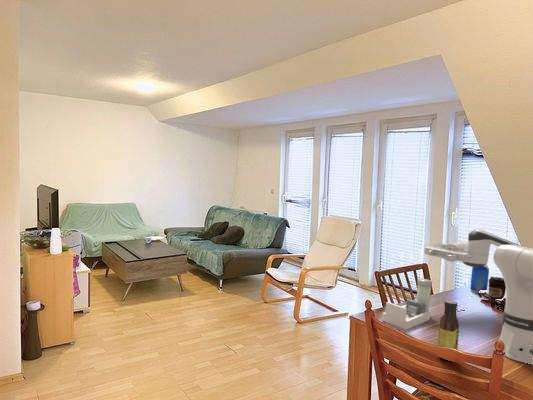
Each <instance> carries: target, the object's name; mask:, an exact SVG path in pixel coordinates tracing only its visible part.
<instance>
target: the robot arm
mask: <svg viewBox="0 0 533 400" xmlns="http://www.w3.org/2000/svg"><path fill="white" fill-rule="evenodd" d="M467 240H468V242H463V241H458V242H453V243H435V244H431V245H426V246H425V247H424V255H428V256H432V257H436V258H440V259H443V260H445V261H447V262H451V263H452V262H453V263H454V262H462V263H463V265H466V266H468V267H471V268H472V267H483V266H485V265H488V261H489V255H490V250H491V249H490V248H491V245H494V246H496V247H497V248H496V249H495V250H494V253H493V258H492V259H493V262H494V263H493V264H495V266H496V267H497V268H498V269H499V271H500V273H501V276H502V278H504V282H505V286H506V291H505V308H504V309H505V310H503V312H502V317H501V318H502V319H501V323H502V328H501V333H500V336H499V337H498V341H499V340H501V341H503V343H504V344H505V350H504V352H505V354H504V355H505V356H506V357H507V358H508V359H510V360H514V361H517V362H520V363H523V362H524V364H527V363H528V364H527V365H530V364H531V366H533V248H531V247H526V246H523V245H520V244H518V243H515V242H513V241H510V240H508V239H505V238H502V237H499V236H497V235H494V234H492V233H490V232H488V231H486V230H484V229H481V228H479V229H476V228H475V229H473V230H472V231H470V232H469V233H468V239H467Z"/></svg>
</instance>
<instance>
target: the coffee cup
mask: <svg viewBox="0 0 533 400" xmlns="http://www.w3.org/2000/svg"><path fill="white" fill-rule="evenodd" d="M489 297H490V298H491V299H489ZM504 297H506V286H505V282H504V278H503V277H498V276H496V277H495V276H490V278H488V302H489V303H491V302H492V303H493V304H495V303H494V302H495V299H502V298H503V299H504Z"/></svg>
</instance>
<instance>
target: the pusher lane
mask: <svg viewBox="0 0 533 400" xmlns="http://www.w3.org/2000/svg"><path fill="white" fill-rule="evenodd" d="M381 318H382V319H381V321H382V322H385V323H388V324H390V325H393V326H395V327H398V328H401V329H403V330H406V331H407V330H409V329H411V328H414V327H416V326H419V325H420V324H423V323H425V322H427V321H430V319H431V311H430V310H429V311H427V312H425V313H422V314H420V315H414V314H411V313H408V312H407V308H406V304H405V305H398V304H395V303H392V302H389V301H386V302H385V311H384V312H382V317H381Z"/></svg>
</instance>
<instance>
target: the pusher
mask: <svg viewBox="0 0 533 400" xmlns="http://www.w3.org/2000/svg"><path fill="white" fill-rule="evenodd" d="M405 305H406V308H407V312H408V313H411V314H414V315H420V314H422V313H425V306H426V305H425V304H421V303H418V302H416V300H415V301H414V300H411V299H406V302H405Z"/></svg>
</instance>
